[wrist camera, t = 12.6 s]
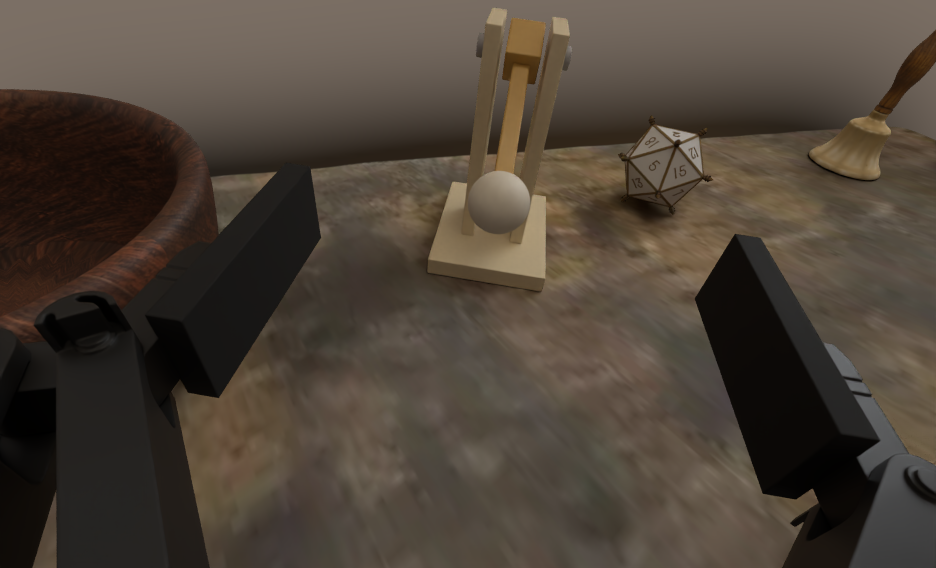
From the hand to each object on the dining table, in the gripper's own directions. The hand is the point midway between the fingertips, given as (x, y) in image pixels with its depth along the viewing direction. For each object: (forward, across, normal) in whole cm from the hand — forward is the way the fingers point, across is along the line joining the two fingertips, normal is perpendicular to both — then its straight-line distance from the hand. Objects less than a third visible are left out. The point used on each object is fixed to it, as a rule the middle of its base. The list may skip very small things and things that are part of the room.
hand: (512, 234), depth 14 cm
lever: (+16, -1, -4) cm, 17 cm away
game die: (+31, +15, -15) cm, 37 cm away
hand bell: (+49, +44, -15) cm, 67 cm away
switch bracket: (+20, -1, -15) cm, 25 cm away
